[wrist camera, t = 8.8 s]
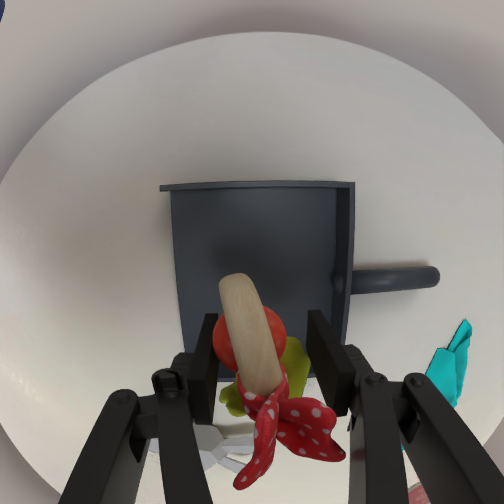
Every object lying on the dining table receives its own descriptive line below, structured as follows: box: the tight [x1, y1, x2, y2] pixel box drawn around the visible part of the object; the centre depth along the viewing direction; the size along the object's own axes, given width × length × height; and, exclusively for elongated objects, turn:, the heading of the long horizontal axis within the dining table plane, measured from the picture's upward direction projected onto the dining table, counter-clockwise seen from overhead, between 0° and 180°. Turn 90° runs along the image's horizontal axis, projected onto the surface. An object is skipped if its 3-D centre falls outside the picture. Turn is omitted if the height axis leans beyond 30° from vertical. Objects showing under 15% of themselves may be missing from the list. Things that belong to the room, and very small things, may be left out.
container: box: [408, 482, 431, 504], centre depth 36 cm, size 10×10×8 cm
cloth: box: [401, 320, 472, 450], centre depth 31 cm, size 26×14×2 cm, turn 153°
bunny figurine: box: [148, 422, 254, 474], centre depth 29 cm, size 10×5×15 cm
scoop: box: [160, 181, 440, 382], centre depth 26 cm, size 27×18×4 cm
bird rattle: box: [213, 273, 346, 490], centre depth 13 cm, size 6×11×9 cm
